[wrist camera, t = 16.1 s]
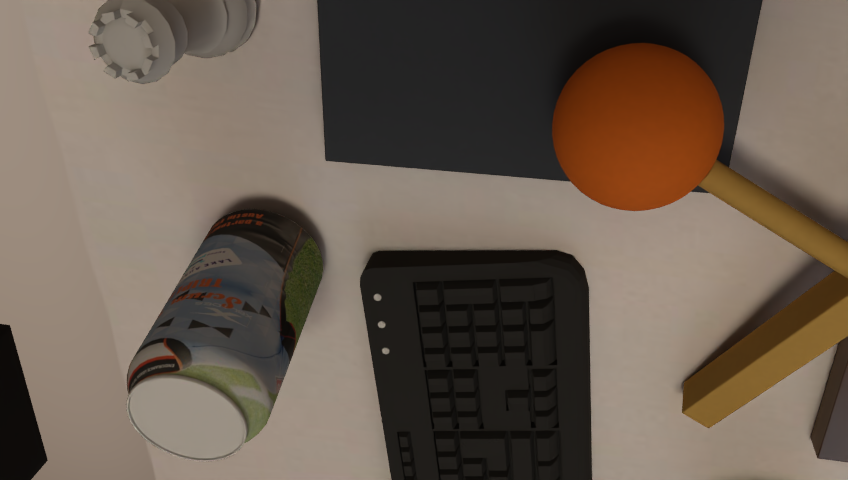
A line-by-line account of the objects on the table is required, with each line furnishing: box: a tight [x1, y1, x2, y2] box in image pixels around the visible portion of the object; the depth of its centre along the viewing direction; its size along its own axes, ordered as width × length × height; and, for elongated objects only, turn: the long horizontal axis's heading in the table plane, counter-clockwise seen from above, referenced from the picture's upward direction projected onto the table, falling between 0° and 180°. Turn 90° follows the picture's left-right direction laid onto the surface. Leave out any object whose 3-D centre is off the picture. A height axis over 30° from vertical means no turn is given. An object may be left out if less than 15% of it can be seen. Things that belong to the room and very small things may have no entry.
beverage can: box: [127, 209, 323, 461], centre depth 37 cm, size 6×7×12 cm
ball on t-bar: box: [552, 43, 848, 428], centre depth 32 cm, size 6×22×16 cm
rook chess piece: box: [89, 0, 256, 84], centre depth 33 cm, size 4×4×8 cm
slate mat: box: [317, 0, 762, 193], centre depth 34 cm, size 18×12×1 cm, turn 90°
